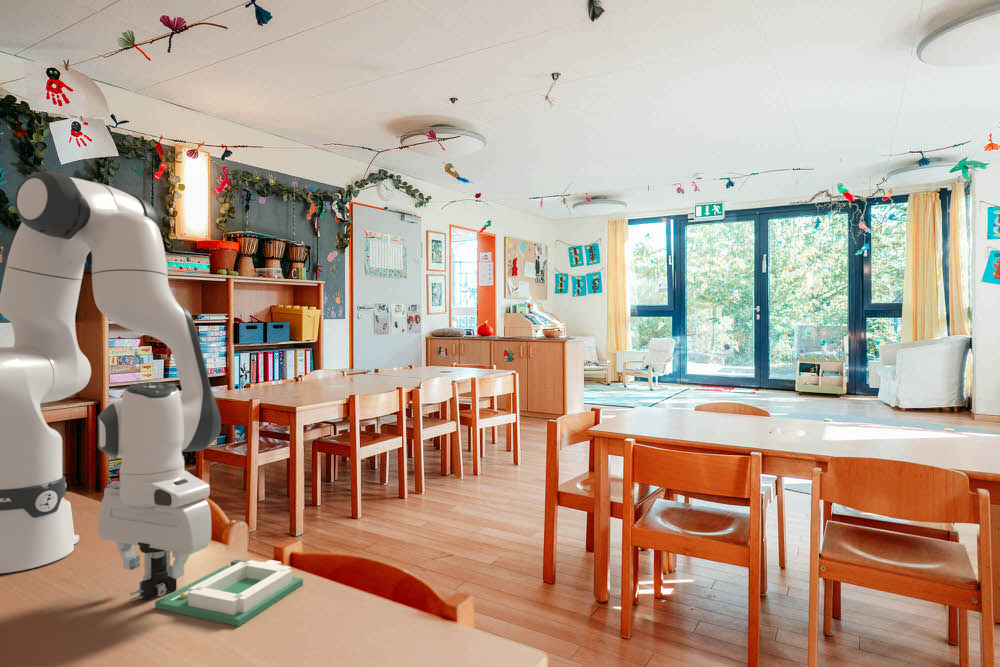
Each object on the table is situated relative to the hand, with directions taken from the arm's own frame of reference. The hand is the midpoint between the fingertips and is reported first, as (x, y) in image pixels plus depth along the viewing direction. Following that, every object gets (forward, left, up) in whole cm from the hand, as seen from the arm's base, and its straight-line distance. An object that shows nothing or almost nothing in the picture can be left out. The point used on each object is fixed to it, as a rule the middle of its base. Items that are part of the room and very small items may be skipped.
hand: (153, 572), depth 91 cm
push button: (0, 0, -4) cm, 4 cm away
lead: (+9, +12, -4) cm, 16 cm away
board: (+12, +4, -4) cm, 13 cm away
